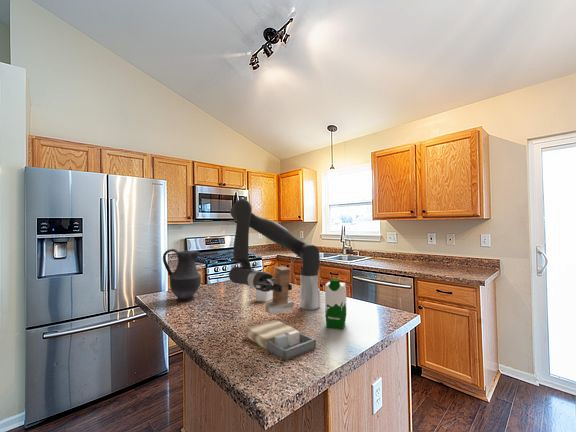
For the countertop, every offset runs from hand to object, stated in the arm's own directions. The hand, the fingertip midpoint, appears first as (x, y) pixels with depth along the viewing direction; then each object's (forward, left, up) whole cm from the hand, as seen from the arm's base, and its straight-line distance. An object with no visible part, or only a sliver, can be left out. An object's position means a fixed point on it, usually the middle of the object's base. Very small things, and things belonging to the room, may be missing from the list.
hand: (286, 288), depth 98 cm
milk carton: (-28, -7, -21) cm, 36 cm away
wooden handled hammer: (+1, -4, -9) cm, 10 cm away
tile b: (+3, 0, -18) cm, 18 cm away
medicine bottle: (-17, -59, -21) cm, 65 cm away
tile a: (-3, 0, -18) cm, 18 cm away
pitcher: (+25, -82, -21) cm, 88 cm away
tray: (0, +3, -21) cm, 21 cm away
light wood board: (+2, -9, -21) cm, 23 cm away
